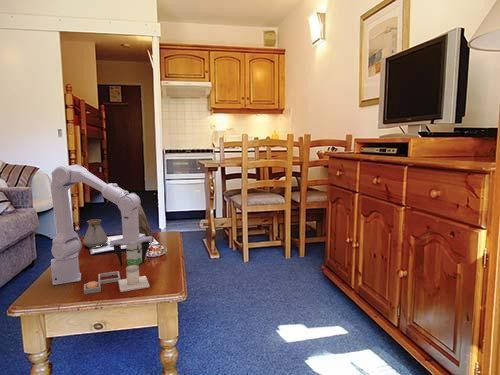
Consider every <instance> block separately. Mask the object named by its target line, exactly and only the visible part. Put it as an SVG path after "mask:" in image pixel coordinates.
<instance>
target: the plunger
mask: <svg viewBox="0 0 500 375" xmlns="http://www.w3.org/2000/svg"><path fill="white" fill-rule="evenodd" d="M98 282H99V281H95V280H93V281H88V282H87V283H86V284H87V289H89V288H95V287H98Z"/></svg>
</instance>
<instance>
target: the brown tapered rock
mask: <svg viewBox="0 0 500 375" xmlns="http://www.w3.org/2000/svg"><path fill="white" fill-rule="evenodd" d="M138 219H139V234H145V237H149V236H151V237H152V242H154V236H153V232H152V229H151V227H150V224H149V221H148V219H147V216H146V214H145V211H144V208H143V207H142V205H141V204H140V206H139V207H138Z"/></svg>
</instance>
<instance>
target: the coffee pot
mask: <svg viewBox="0 0 500 375" xmlns="http://www.w3.org/2000/svg"><path fill="white" fill-rule="evenodd" d="M101 222H102V219H99V218H94V219H93V218H92V219H89V220H87V221H86V223H87V224H88V226H87V229H86V232H85V234H84V238H83V240H82V242H83V243H82V244H83V245H85V246H86V247H87V248H90V247H96V246H101V245H104V246H105V245H106V244H107V243H108V240H109V239H108V238H109V237H108V236H107V234H106V232H105V231H104V228H103V226H102V225H101ZM90 249H91V248H90Z"/></svg>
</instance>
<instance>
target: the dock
mask: <svg viewBox="0 0 500 375" xmlns="http://www.w3.org/2000/svg"><path fill="white" fill-rule="evenodd" d="M112 275H113V276H117V277H115V278H114V277H113V278H107V279H101V278H103V277H104V278H105V277H111V276H112ZM97 277H98V279H97V280H98V281H97V282H98V287H95V288H89V289H87V283H83V295H89V294H95V293H101V292H102V288H101V285H105V284H111V283H119V282H118V280H121V276H120V271H119V270H118V271H117V270H116V271H110V272H104V273H98V275H97Z"/></svg>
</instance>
